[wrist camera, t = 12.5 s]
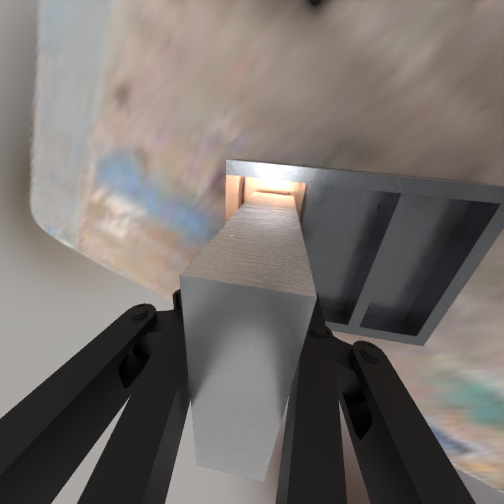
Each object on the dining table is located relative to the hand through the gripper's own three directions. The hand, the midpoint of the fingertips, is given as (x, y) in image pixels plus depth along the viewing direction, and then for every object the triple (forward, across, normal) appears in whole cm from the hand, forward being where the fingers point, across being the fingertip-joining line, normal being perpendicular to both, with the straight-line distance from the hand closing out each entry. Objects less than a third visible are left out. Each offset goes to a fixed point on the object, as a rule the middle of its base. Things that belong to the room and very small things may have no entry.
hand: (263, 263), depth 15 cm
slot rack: (+5, +6, 0) cm, 8 cm away
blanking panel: (+2, 0, 0) cm, 2 cm away
